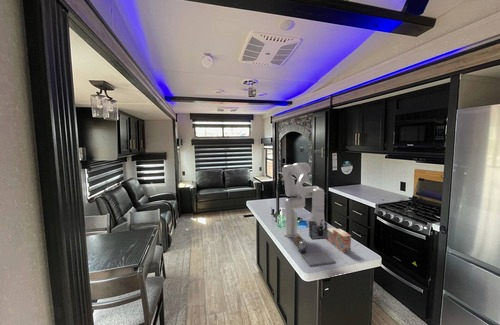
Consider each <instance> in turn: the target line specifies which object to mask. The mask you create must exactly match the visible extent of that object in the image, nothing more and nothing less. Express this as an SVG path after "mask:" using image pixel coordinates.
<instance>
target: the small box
mask: <svg viewBox="0 0 500 325" xmlns="http://www.w3.org/2000/svg"><path fill="white" fill-rule="evenodd" d="M320 225H321V224H320ZM324 225H325V228H324V230H323V236H318V230H319V227H318V226H316V224H315V223H314V222H313V221H311V220H309V221H308V231H309V232H308V236H309V238H310V239H311V240H312V241H313V240H327V239H328V237H327V229H328V223H327V222H326V221H325V220H324ZM321 227H322V226H320V228H321Z"/></svg>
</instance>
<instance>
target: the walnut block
mask: <svg viewBox="0 0 500 325" xmlns="http://www.w3.org/2000/svg"><path fill="white" fill-rule="evenodd" d="M293 239H294V245H295V246H296V247H299V241H304V238H302V237H301V236H298V237H293Z"/></svg>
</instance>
